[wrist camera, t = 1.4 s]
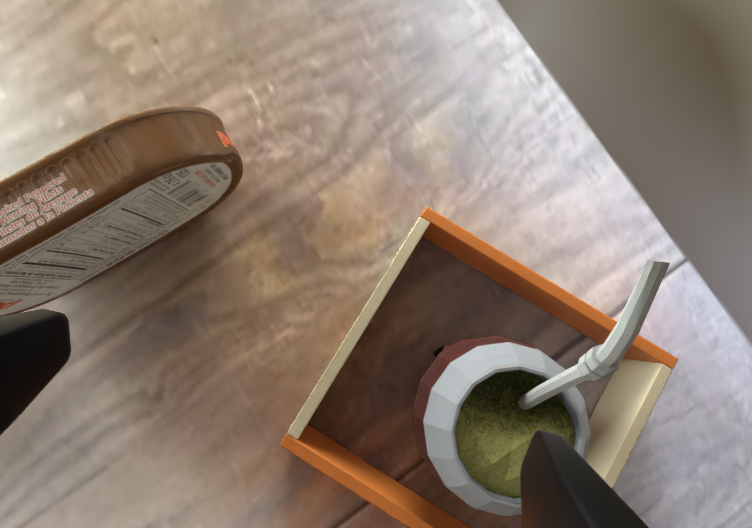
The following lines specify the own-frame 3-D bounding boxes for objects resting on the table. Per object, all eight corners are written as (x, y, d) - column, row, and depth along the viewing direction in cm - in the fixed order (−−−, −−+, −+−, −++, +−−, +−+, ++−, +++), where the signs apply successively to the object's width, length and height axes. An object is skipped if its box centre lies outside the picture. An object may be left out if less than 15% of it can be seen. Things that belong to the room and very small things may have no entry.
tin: (239, 146, 26) (181, 62, 18) (267, 191, 26) (222, 128, 17) (-4, 284, 24) (-193, 265, 16) (23, 334, 24) (-155, 340, 16)
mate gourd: (445, 492, 24) (587, 772, 9) (371, 360, 25) (388, 418, 10) (562, 418, 25) (871, 564, 10) (486, 292, 25) (666, 250, 10)
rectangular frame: (521, 573, 24) (548, 617, 20) (290, 427, 24) (278, 445, 21) (635, 353, 25) (679, 358, 22) (417, 221, 26) (426, 205, 22)
